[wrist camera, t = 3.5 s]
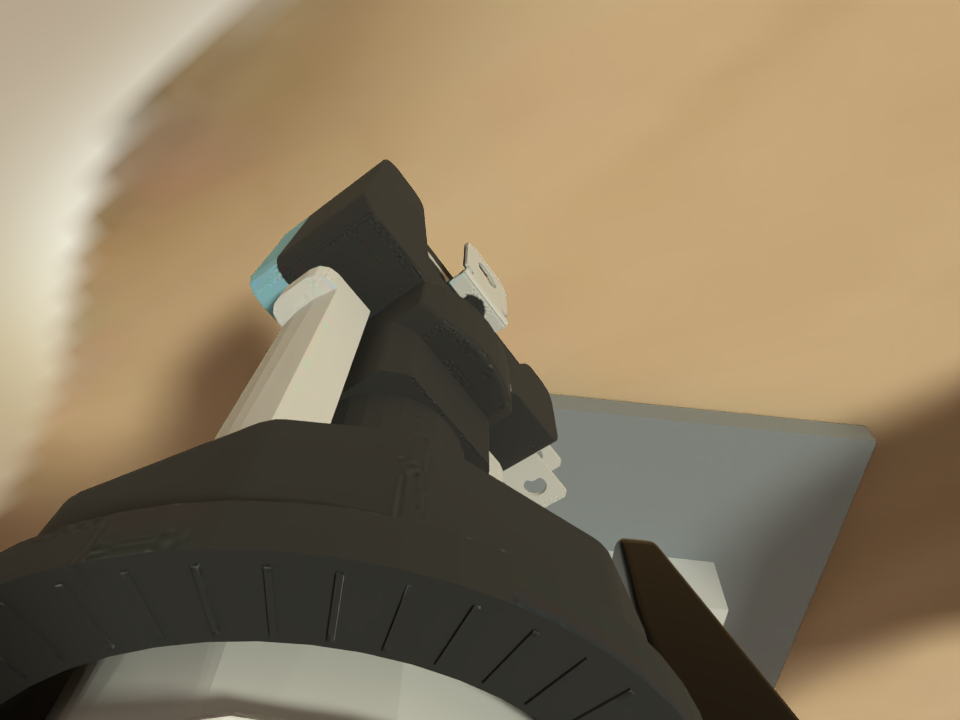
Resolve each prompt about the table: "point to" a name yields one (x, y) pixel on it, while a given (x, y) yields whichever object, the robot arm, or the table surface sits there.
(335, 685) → the push button
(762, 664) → the socket board
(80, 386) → the table surface
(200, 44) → the table surface
